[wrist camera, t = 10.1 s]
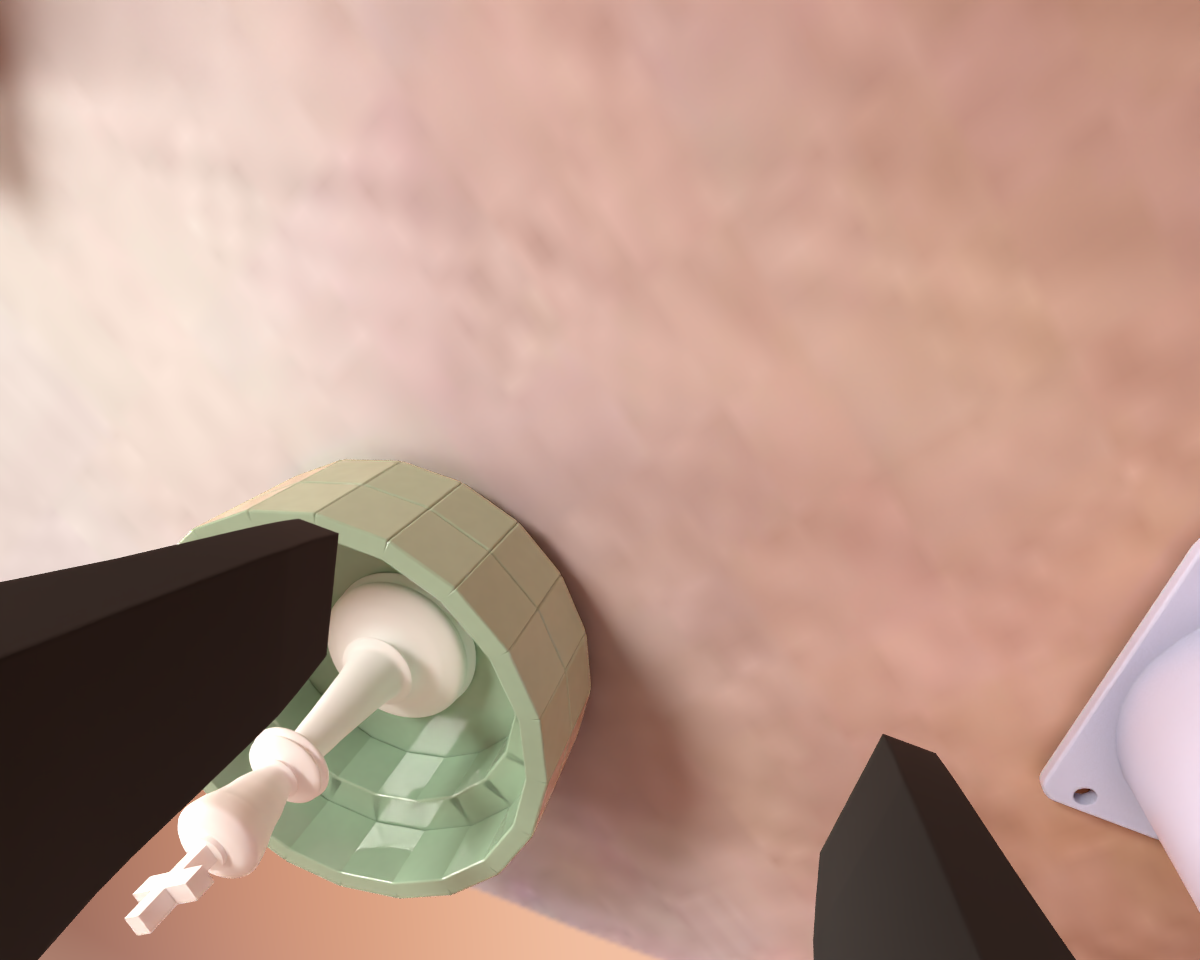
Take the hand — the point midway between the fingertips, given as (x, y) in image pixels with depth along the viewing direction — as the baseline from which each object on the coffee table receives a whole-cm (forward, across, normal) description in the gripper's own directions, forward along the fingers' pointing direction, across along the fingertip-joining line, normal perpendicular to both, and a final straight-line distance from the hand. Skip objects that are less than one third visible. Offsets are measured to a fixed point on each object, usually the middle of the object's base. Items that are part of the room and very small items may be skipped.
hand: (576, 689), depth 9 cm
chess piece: (+10, +7, +9) cm, 15 cm away
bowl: (+10, +7, +9) cm, 15 cm away
